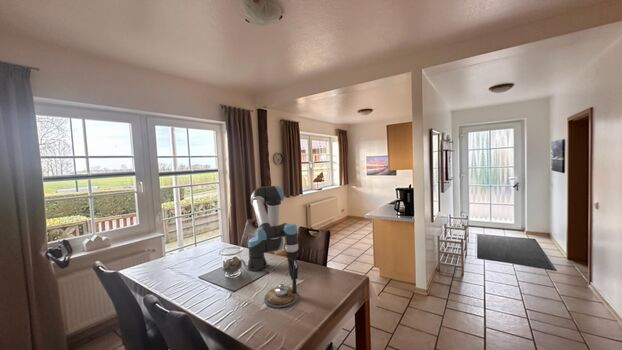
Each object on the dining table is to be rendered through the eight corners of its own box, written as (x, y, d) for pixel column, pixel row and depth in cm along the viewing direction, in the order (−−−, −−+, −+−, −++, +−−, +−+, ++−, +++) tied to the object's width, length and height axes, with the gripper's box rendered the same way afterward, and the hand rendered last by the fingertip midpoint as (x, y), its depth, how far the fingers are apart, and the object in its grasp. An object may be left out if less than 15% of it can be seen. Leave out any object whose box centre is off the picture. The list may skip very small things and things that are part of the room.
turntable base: (261, 294, 153) (261, 292, 153) (292, 286, 161) (291, 285, 161) (268, 312, 135) (268, 309, 134) (303, 302, 142) (303, 300, 142)
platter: (277, 286, 160) (277, 276, 159) (302, 291, 151) (301, 281, 151) (259, 300, 144) (258, 289, 144) (285, 307, 135) (284, 296, 135)
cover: (280, 289, 153) (279, 281, 153) (291, 291, 149) (290, 283, 149) (272, 295, 146) (271, 287, 146) (283, 298, 142) (283, 289, 142)
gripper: (282, 248, 153) (285, 285, 154) (289, 255, 141) (291, 295, 142) (294, 245, 156) (296, 282, 157) (301, 252, 144) (303, 292, 145)
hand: (294, 288), depth 150 cm, fingers closed
